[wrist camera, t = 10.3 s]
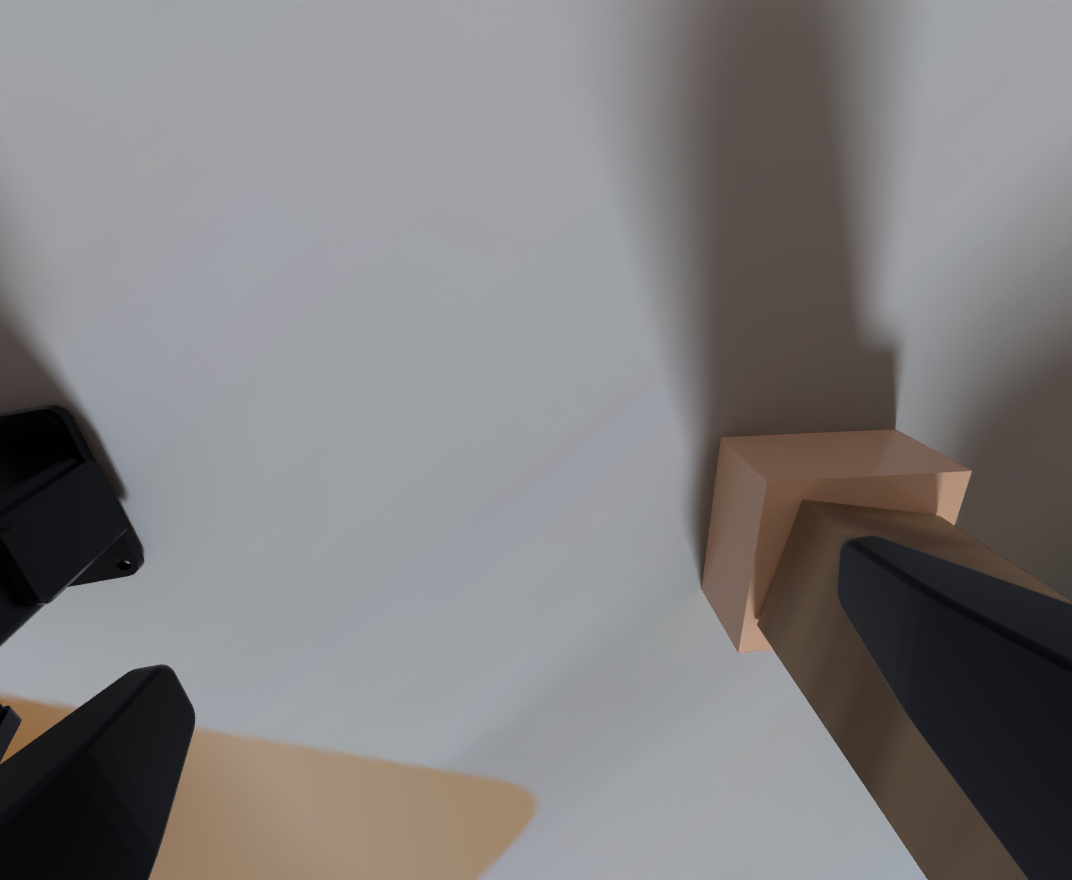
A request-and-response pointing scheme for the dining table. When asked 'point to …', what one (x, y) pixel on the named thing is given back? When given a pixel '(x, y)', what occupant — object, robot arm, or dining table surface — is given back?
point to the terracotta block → (811, 474)
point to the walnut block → (881, 682)
